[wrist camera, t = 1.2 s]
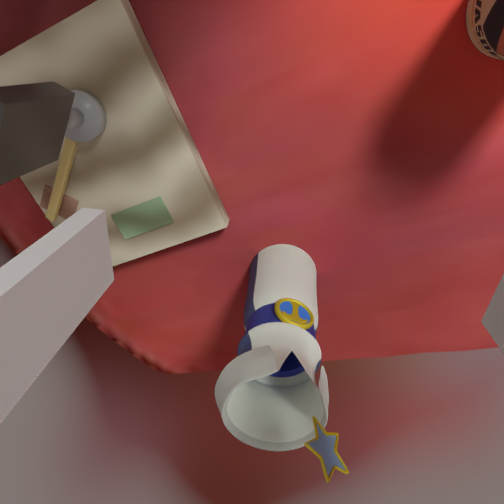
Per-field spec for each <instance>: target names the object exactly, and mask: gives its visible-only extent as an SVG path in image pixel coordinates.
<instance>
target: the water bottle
mask: <svg viewBox="0 0 504 504" xmlns="http://www.w3.org/2000/svg"><path fill="white" fill-rule="evenodd" d="M244 327H245V335H244V336H243V337H242V339H241V340H240V342H239V345H238V350H237V356H238V357H236V358H235V359H233V360H232V361H231V362H230V363H229V364H228V365H227V366H226V367H225V368H224V369H223V371H222V372H221V374H220V376H219V378H218V380H217V383H216V386H215V399H216V403H217V406H218V409H219V411H220V413H221V417H222V420H223V423H224V425H225V426H226V428H227V429H228V430H229V431H230V432H231V434H233V435H234V436H235V437H236V438H237V439H239V440H240V441H242V442H244V443H246V444H248V445H250V446H253V447H256V448H259V449H263V450H270V451H287V450H293V449H297V448H300V447H303V446H306V447H307V448H308V449H310V450H311V451H312V452H313V453H314V454H315V455H316V456H317V457H318V458H319V459H320V461H321V465H322V468H323V472H324V476H325V479H326V482H329V481H330V479H331V476H332V474H333V472H334V470H335V469H337V470H339V471H341V472H343V473H345V474H348V473H349V471H348V469H347V467H346V465H345V464H344V462H343V460H342V459H341V457H340V455H339V454H338V452H337V446H338V433H335V432H326V430H325V429H324V428H325V426H326V423H327V419H328V403H329V394H328V382H327V376H326V372H325V369H324V367H323V366H322V368H321V375H320V380H319V388H318V387H317V384H316V380H315V373H316V371H317V370H318V368H319V366H320V363H321V349H320V346H319V344H318V342H317V341H316V337H315V334H316V331H317V327H318V307H317V293H316V267H315V264H314V262H313V260H312V259H311V257H310V256H309V255H308V254H307V253H306V252H305V251H303V250H302V249H300V248H298V247H296V246H292V245H287V244H277V245H272V246H269V247H267V248H265V249H263V250H261V251H260V252H259V253H258V254H257V255H256V256H255V257H254V259H253V260H252V262H251V265H250V270H249V282H248V290H247V297H246V303H245V309H244Z"/></svg>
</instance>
